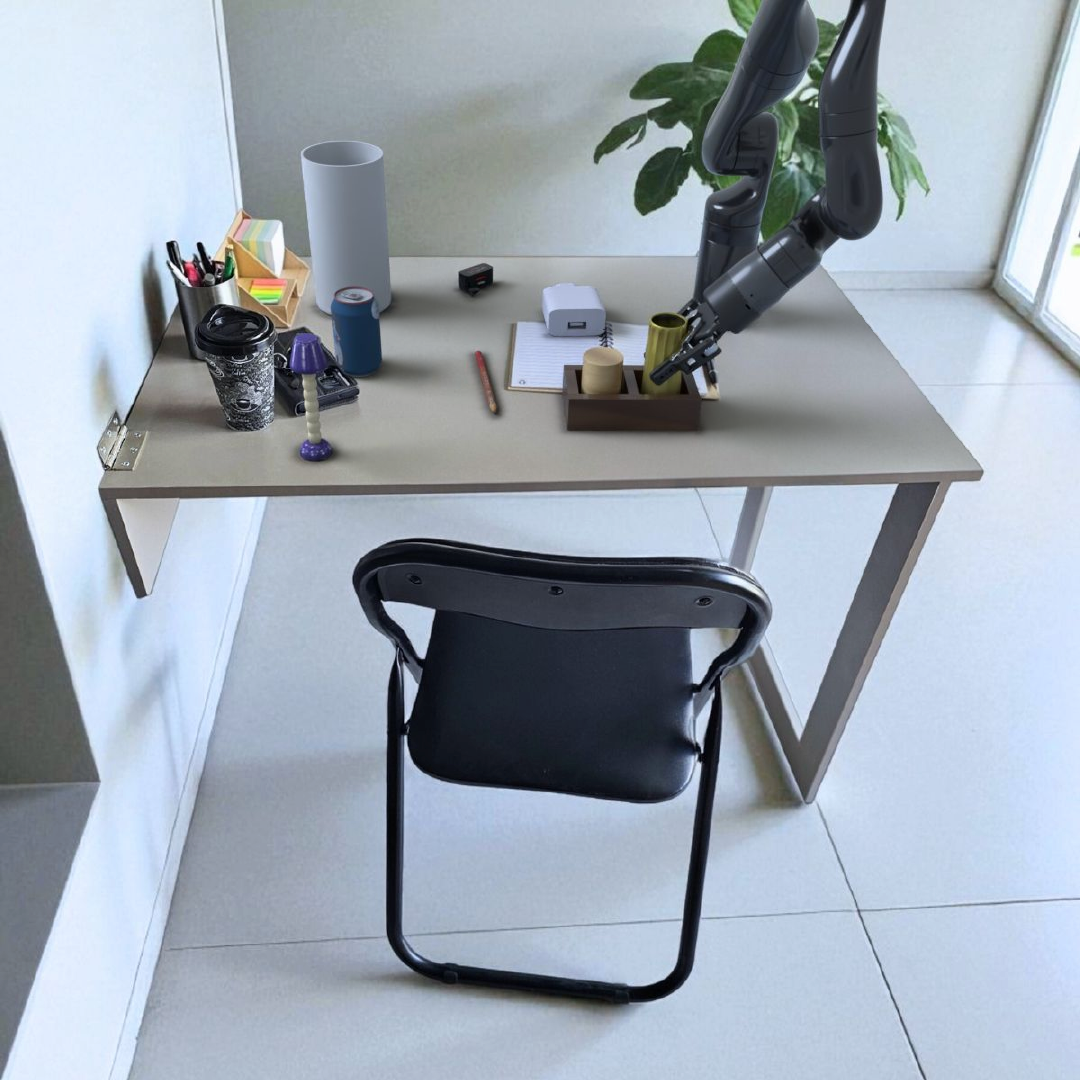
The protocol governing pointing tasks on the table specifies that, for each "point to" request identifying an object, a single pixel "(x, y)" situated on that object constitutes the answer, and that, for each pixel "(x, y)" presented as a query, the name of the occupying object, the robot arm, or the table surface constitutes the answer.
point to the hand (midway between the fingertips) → (650, 370)
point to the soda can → (356, 331)
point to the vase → (663, 350)
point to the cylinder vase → (347, 219)
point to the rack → (630, 404)
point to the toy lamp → (310, 392)
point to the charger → (573, 310)
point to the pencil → (486, 382)
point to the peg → (602, 371)
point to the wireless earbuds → (475, 278)
